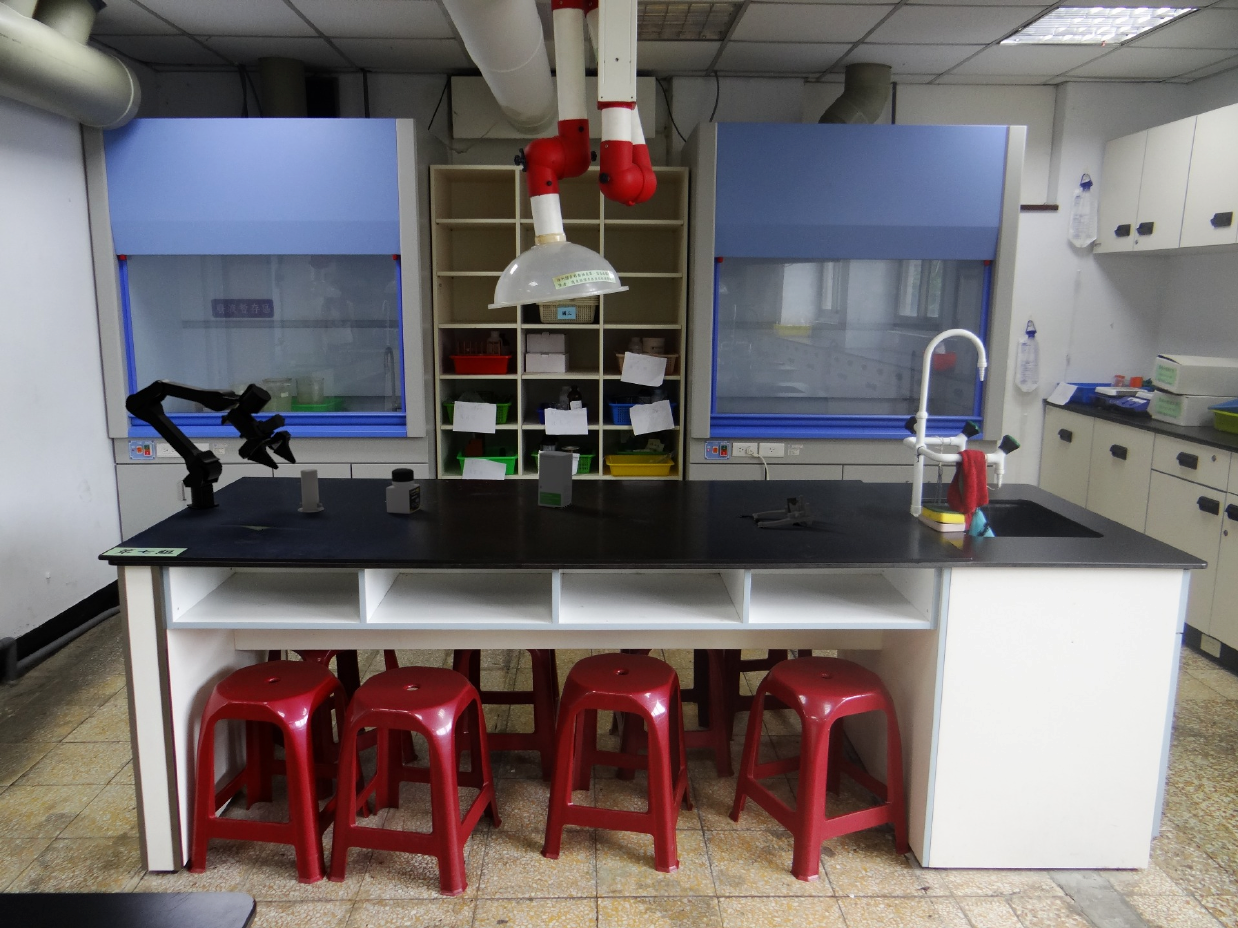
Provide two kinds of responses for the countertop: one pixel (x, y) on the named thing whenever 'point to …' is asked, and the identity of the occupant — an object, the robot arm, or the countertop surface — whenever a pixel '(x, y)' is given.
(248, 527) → the mat
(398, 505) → the medicine bottle
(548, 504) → the skincare box
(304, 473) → the grey rounded post
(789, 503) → the bike brake
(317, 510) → the grey shallow disc
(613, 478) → the countertop surface
